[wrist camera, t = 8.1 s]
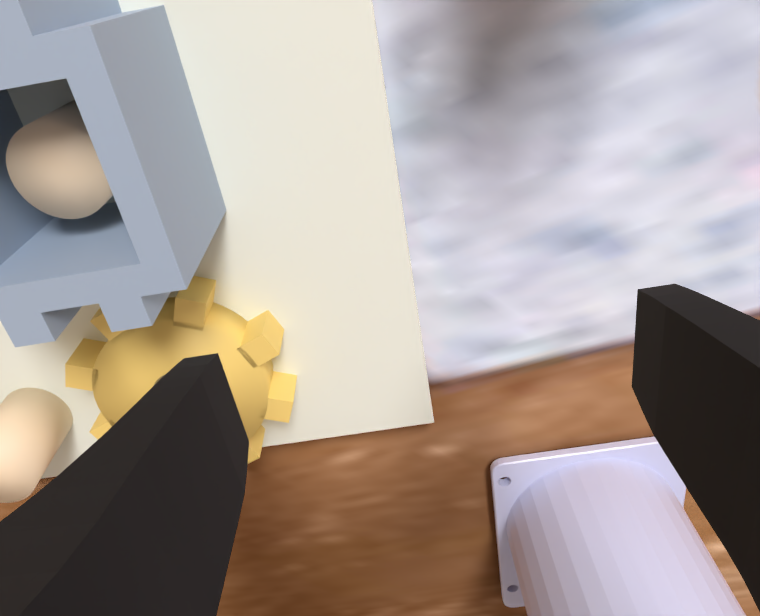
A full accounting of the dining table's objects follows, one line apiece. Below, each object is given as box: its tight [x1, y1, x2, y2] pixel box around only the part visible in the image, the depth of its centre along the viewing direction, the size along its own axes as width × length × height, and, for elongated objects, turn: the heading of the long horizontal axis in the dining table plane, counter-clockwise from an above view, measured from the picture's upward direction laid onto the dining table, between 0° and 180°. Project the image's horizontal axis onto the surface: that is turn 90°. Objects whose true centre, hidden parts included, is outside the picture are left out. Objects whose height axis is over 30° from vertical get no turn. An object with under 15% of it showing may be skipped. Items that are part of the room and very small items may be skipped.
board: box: [0, 0, 434, 503], centre depth 18 cm, size 18×16×4 cm
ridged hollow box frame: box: [0, 0, 226, 347], centre depth 15 cm, size 7×6×5 cm
